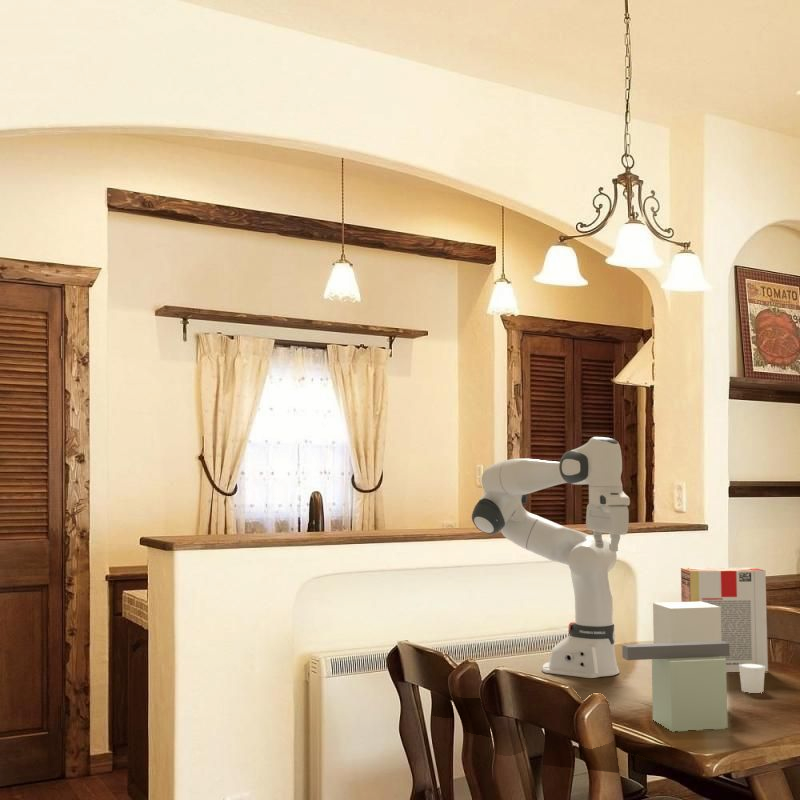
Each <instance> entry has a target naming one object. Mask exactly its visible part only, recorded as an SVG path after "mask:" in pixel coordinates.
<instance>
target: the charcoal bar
mask: <svg viewBox="0 0 800 800" xmlns="http://www.w3.org/2000/svg"><path fill="white" fill-rule="evenodd" d="M621 648H622V651H621V652H622V654H621V655H622V658H623V659H625V660H627V661H641V660H642V661H646V660H652V659H671V658H695V657H720V656H730V650H729V643H727V642H724V641H713V642H686V643H659V644H654V643H637V644H636V643H635V644H633V643H632V644H622V647H621Z"/></svg>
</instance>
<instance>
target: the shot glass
mask: <svg viewBox="0 0 800 800" xmlns="http://www.w3.org/2000/svg"><path fill="white" fill-rule="evenodd" d="M739 672H740V673H739V678H740V679H739V680H740V688H741V692H743V691H744V692H743V693H745V692H749V693H748V694H750V693H760V692H761V694H763V693H764V688H765V687H764V686H765V675H766V672H765V666H764V665H760V664H754V663H742V664H739ZM762 692H763V693H762Z"/></svg>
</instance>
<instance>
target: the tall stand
mask: <svg viewBox="0 0 800 800" xmlns="http://www.w3.org/2000/svg"><path fill="white" fill-rule="evenodd" d="M652 614H653V616H652V619H653V621H652V623H653V625H652V626H653V627H652V628H653V644H659V643H686V642H713V641H721V607H719V606H715V605H712V604H709V603H705V602H702V601H701V602H682V601H675V602H673V601H672V602H670V601H669V602H653V603H652ZM720 657H721V658H722V656H720Z"/></svg>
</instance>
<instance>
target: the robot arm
mask: <svg viewBox="0 0 800 800" xmlns="http://www.w3.org/2000/svg"><path fill="white" fill-rule="evenodd" d="M622 472H623V457H622V449H621V445H620V444H619V441H617V440H616V439H615V438H612V437H611V438H610V437H608V436H607V437H605V436H593V437H591V438H590V439H589V440H588V441H587V442H586V443H584V444H583V445H581V446H579V447H577V448H574V449H571V450H568V451H565V452H564V453H563V454H562V456H561V457H560V460H559V461H552V460H541V459H535V458H534V459H533V458H511V459H506V460H501V461H499V462H496V463H493V464H492V465H490V466H488V467H486V468H485V469H484V470H483V472H482V475H481V481H480V482H481V486H482V488H483V490H484V491H483V493H482V495H481V496H480V499H479V500H478V501H477V503H476V504H475V506H474V508H473V511H472V514H471V521H472V523H473V525H474V526H475V528H477V530H479V531H481V532H482V533H485V534H487V535H496V534H497V533H499V532H501V534H502V535H503V537H504V538H506V539H507V540H508V541H510V542H512V543H514V544H515V545H517V546H519V547H521V548H522V549H525V550H527V551H529V552H532V553H533V554H536V555H539V556H540V557H543V558H545V559H547V560H550V561H553V562H557V563H560V564H565V565H568V568H569V569H570V574H571V575H570V576H571V582H572V583H571V584H572V587H573V593H574V617H575V618H574V621H571V622H569V624H568V628H567V629H568V634H569V635H568V636H566V637H565V638H563V639H562V640H561V641H559V642H558V643H557V644H556V645H555V646H554V647H552V649H551V651H550V657H549V661H547V662H545V663H544V664H542V669H541V670H542V672H543V673H546V674H554V675H561V676H569V677H576V678H577V677H578V678H586V679H596V678H600V677H602V678H603V677H611V676H615V675H618V674H619V673H620V670H619V666H618V663H617V659H616V658H617V657H616V653H615V642H616V628H615V624H614V623H613V622H614V617H613V616H614V614H613V612H614V611H613V610H614V609H613V596H612V593H611V587H610V582H609V572H611V571H612V569H613V568H614V566H615V564H616V561H617V552H618V551H619V544H620V541H621V536H622V535H623V536H624V535H627V534H628V531H629V518H630V517H629V513H630V511H629V507H628V506H630V504H631V500H630V497H629V496H628V495H627V494H626V493H625V492H624V490H623V483H622V478H621V476H622ZM561 484H571V485H578V486H579V485H581V486H582V485H588V504H587V506H586V512H585V513H586V518H585V526H586V529H587V530H588V531H592V535H591V534H588V533H586V532H583V531H579V530H577V529H576V530H575V529H573V528H570V527H567V526H564V525H561V524H559V523H557V522H554V521H552V520H549V519H547V518H545V517H542V516H540V515H537V514H534V513H531V512H529V511H528V510H526V508H525V507H524V506H523V505H525V504H526V503H528V497H527V495H529V494H532V493H535V492H538V491H542V490H544V489H548V488H551V487H552V488H553V487H554V486H558V485H561ZM604 533H605V534H609V535H610V542H609V541H607V540H605V539H604V538H603V534H604Z"/></svg>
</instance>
